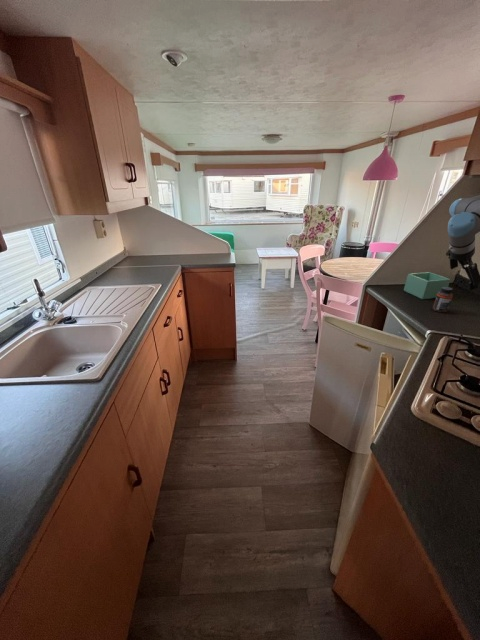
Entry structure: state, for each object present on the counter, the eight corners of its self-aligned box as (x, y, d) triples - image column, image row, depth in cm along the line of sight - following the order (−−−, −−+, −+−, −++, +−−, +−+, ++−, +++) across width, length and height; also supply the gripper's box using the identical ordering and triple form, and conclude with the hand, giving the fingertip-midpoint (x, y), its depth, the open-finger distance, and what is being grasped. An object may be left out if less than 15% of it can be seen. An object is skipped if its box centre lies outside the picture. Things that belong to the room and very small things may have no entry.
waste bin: (444, 296, 141) (450, 279, 137) (422, 299, 139) (427, 281, 135) (424, 288, 153) (429, 271, 149) (403, 290, 151) (408, 273, 147)
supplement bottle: (431, 306, 130) (439, 285, 125) (446, 309, 128) (454, 287, 123) (432, 311, 126) (439, 289, 121) (447, 314, 123) (456, 291, 118)
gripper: (433, 234, 112) (438, 263, 126) (471, 273, 97) (471, 302, 111) (453, 223, 109) (456, 255, 123) (496, 263, 93) (493, 293, 108)
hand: (463, 277), depth 117 cm, fingers open, 13 cm apart
